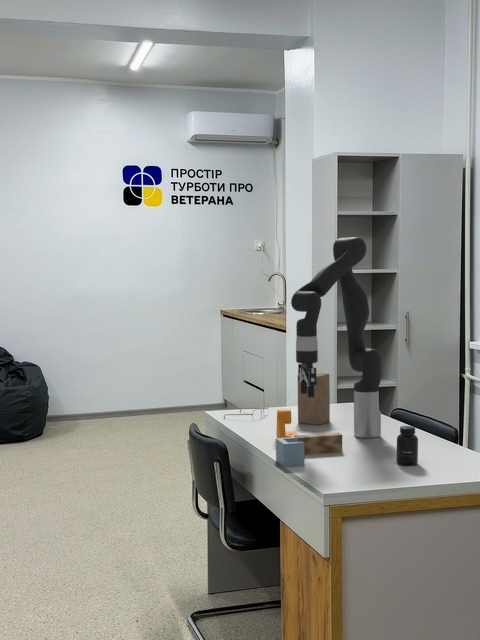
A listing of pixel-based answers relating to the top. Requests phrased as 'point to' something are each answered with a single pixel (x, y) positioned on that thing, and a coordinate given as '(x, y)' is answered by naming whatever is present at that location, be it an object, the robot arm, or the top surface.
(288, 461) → the grey u-channel
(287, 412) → the bracket
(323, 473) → the top surface
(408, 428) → the supplement bottle
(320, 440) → the rail
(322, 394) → the wooden block
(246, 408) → the eyeglasses
